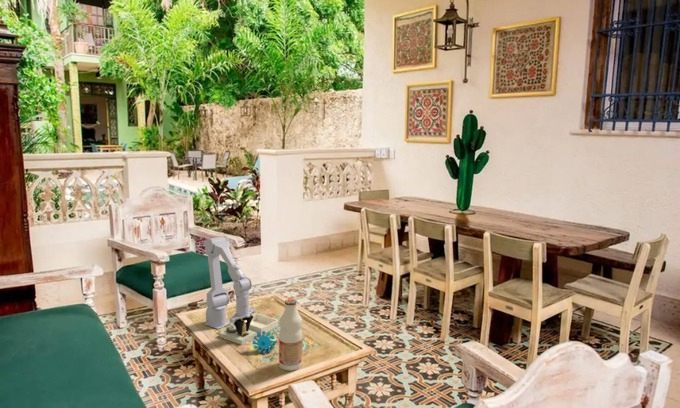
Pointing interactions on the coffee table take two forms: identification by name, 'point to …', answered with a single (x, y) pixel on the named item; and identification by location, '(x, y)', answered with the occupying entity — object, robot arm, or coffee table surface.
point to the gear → (264, 342)
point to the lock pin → (244, 328)
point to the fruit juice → (290, 337)
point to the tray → (262, 323)
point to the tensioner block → (237, 335)
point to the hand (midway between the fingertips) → (242, 332)
